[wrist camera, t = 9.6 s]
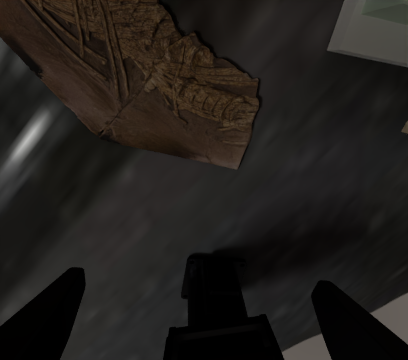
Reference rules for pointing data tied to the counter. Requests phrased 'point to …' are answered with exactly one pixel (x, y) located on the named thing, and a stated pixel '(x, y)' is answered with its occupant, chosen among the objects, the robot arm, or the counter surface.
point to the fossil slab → (135, 76)
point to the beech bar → (405, 128)
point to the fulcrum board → (373, 31)
